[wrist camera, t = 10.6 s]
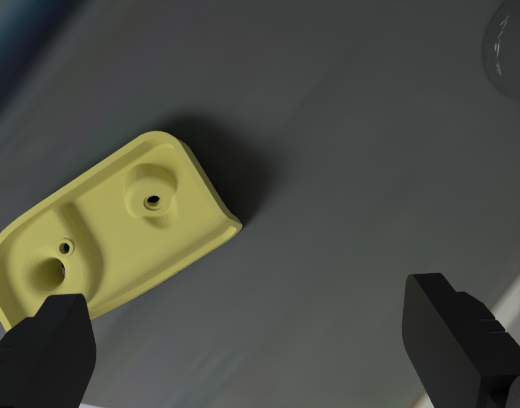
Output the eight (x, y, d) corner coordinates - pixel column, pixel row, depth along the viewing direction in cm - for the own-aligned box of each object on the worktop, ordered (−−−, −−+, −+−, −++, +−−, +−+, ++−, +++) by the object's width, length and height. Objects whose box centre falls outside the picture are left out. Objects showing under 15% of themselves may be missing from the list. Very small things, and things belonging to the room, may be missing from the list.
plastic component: (165, 118, 35) (232, 229, 34) (192, 135, 43) (248, 227, 42) (-37, 253, 37) (22, 362, 36) (22, 247, 45) (72, 338, 44)
